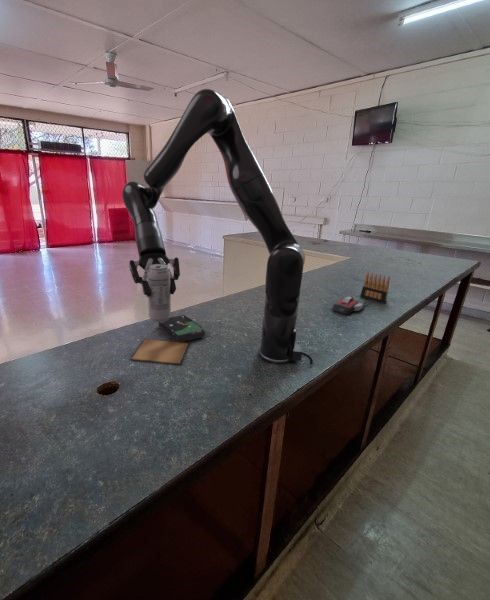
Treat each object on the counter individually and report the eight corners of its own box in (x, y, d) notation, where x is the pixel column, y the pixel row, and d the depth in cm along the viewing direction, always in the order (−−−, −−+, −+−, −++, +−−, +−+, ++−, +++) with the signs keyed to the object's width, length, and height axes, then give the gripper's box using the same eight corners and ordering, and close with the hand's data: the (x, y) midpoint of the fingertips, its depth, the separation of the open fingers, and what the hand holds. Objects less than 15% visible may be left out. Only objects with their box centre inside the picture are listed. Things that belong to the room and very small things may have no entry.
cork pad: (188, 344, 99) (188, 343, 99) (179, 364, 88) (179, 363, 88) (145, 340, 101) (145, 339, 101) (131, 359, 90) (131, 358, 90)
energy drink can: (172, 314, 91) (172, 264, 85) (168, 323, 85) (167, 269, 80) (152, 313, 91) (150, 262, 86) (146, 322, 86) (144, 268, 80)
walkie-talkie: (352, 317, 123) (368, 304, 137) (354, 306, 122) (370, 294, 136) (330, 310, 129) (348, 299, 143) (332, 300, 127) (350, 290, 141)
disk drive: (158, 327, 110) (177, 343, 99) (157, 319, 109) (177, 335, 98) (184, 321, 116) (205, 336, 104) (184, 314, 115) (205, 328, 103)
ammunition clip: (386, 302, 140) (392, 276, 136) (384, 303, 139) (390, 277, 135) (361, 295, 147) (367, 271, 143) (360, 296, 146) (365, 271, 142)
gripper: (124, 234, 84) (134, 290, 78) (176, 233, 89) (189, 285, 83) (123, 250, 91) (132, 303, 85) (171, 247, 96) (183, 297, 90)
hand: (160, 294), depth 84 cm, fingers closed on energy drink can, 6 cm apart
